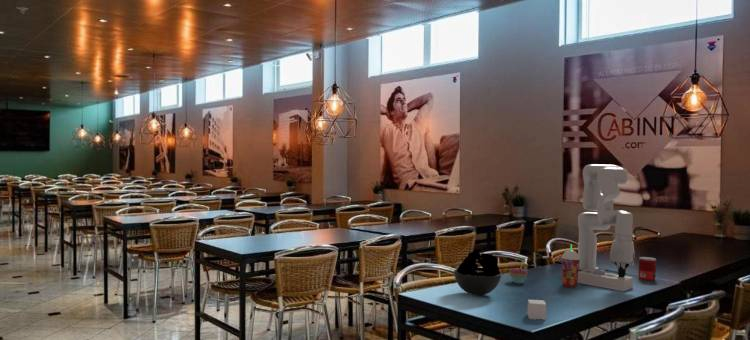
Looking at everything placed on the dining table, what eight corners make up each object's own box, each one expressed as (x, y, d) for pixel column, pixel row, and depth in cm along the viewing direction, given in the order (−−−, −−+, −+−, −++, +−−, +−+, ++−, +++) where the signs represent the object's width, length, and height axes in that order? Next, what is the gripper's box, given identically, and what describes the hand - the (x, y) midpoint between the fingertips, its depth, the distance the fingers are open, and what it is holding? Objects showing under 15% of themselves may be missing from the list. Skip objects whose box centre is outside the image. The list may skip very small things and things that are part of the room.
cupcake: (528, 282, 285) (529, 257, 285) (525, 285, 278) (526, 260, 277) (510, 279, 289) (511, 255, 289) (507, 283, 281) (508, 258, 281)
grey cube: (545, 320, 218) (546, 304, 218) (529, 319, 219) (529, 303, 219) (543, 316, 224) (544, 300, 224) (527, 314, 225) (527, 299, 225)
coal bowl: (490, 303, 241) (492, 257, 240) (445, 295, 251) (447, 251, 251) (506, 294, 258) (508, 251, 257) (464, 287, 268) (466, 246, 268)
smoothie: (578, 285, 281) (580, 243, 281) (578, 289, 274) (580, 246, 273) (560, 283, 284) (562, 242, 284) (560, 287, 276) (561, 244, 276)
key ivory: (615, 285, 279) (615, 276, 279) (618, 284, 282) (618, 275, 282) (623, 286, 276) (624, 277, 276) (626, 285, 279) (627, 276, 279)
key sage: (582, 279, 290) (582, 270, 290) (585, 278, 293) (586, 269, 293) (590, 280, 287) (590, 272, 287) (593, 279, 290) (593, 271, 290)
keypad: (576, 282, 289) (576, 272, 288) (585, 279, 296) (586, 269, 296) (623, 291, 273) (624, 280, 272) (632, 287, 281) (633, 277, 280)
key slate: (593, 277, 286) (593, 269, 286) (596, 276, 289) (596, 268, 289) (601, 279, 284) (601, 270, 283) (604, 278, 286) (604, 269, 286)
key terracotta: (603, 283, 283) (604, 274, 282) (607, 282, 285) (607, 273, 285) (612, 284, 280) (612, 275, 280) (615, 283, 283) (615, 274, 283)
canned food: (657, 281, 298) (658, 259, 298) (640, 280, 300) (641, 258, 299) (653, 278, 305) (654, 257, 305) (636, 277, 307) (637, 256, 307)
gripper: (604, 236, 281) (602, 275, 281) (636, 240, 270) (634, 280, 271) (610, 235, 286) (609, 273, 286) (642, 239, 276) (640, 278, 276)
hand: (621, 276), depth 279 cm, fingers closed
